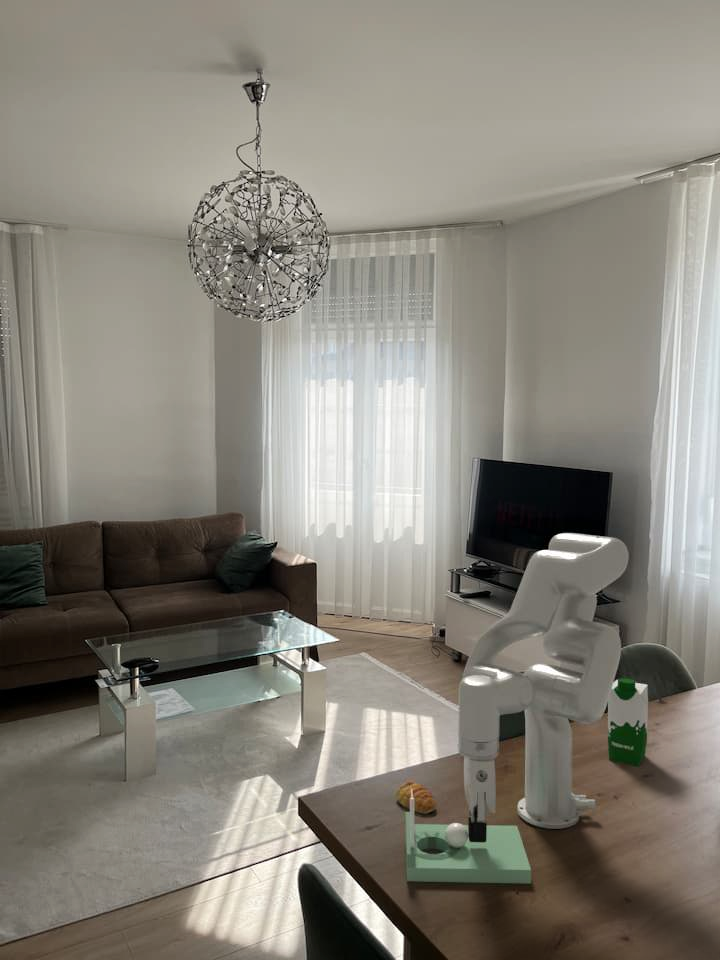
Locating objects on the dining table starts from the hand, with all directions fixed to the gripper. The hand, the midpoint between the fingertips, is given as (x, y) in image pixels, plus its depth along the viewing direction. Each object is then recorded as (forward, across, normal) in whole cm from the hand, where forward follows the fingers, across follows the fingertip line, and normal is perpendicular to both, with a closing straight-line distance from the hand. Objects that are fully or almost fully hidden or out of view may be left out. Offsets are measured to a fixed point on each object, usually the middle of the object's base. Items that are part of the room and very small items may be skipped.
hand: (477, 839), depth 141 cm
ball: (-1, 0, +4) cm, 4 cm away
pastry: (+4, +22, +10) cm, 24 cm away
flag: (+4, -3, +12) cm, 13 cm away
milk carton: (+3, +45, -42) cm, 62 cm away
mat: (+4, 0, +2) cm, 4 cm away
